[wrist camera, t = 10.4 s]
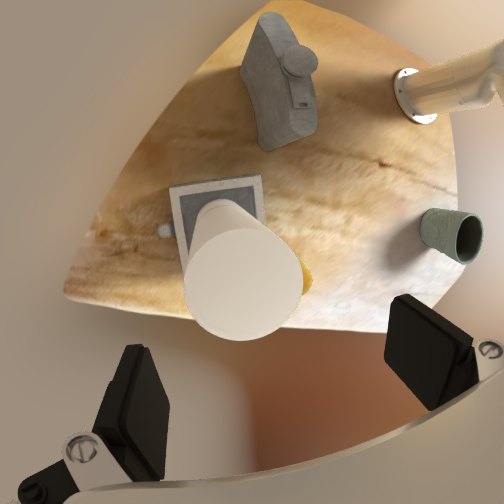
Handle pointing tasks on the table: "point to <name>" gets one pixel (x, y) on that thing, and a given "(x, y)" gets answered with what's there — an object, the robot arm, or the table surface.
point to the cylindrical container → (239, 274)
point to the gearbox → (200, 193)
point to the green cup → (452, 233)
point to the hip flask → (280, 83)
